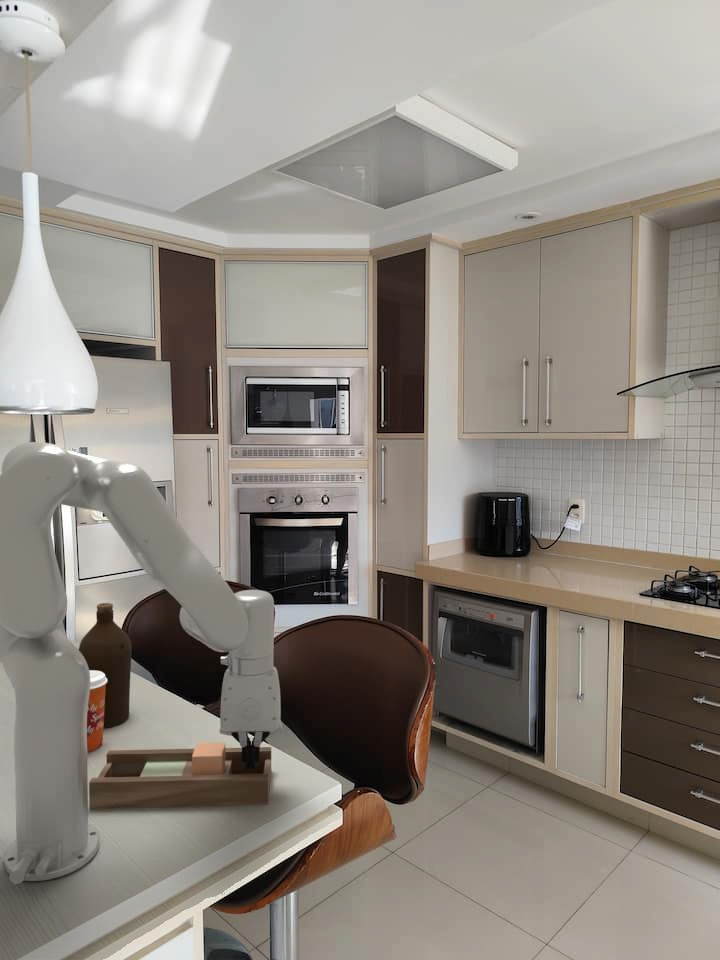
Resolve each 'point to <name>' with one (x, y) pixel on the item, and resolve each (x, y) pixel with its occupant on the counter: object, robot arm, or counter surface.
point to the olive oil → (110, 663)
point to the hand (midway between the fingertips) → (250, 765)
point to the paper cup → (96, 710)
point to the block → (208, 759)
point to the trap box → (177, 780)
